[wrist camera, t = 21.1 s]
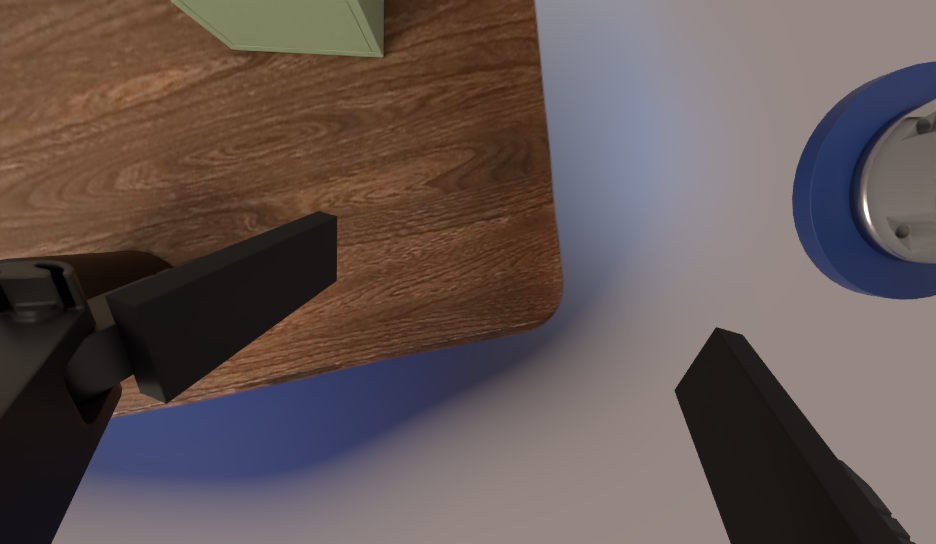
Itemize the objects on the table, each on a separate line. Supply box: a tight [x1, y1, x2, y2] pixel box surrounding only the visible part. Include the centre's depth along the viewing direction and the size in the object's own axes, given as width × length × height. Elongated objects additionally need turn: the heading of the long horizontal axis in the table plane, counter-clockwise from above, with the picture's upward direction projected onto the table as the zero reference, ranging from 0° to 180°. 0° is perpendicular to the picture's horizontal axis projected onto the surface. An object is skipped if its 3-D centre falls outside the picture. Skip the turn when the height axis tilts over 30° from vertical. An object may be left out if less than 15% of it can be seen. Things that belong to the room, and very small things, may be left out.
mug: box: [0, 251, 172, 300], centre depth 29 cm, size 9×12×9 cm
